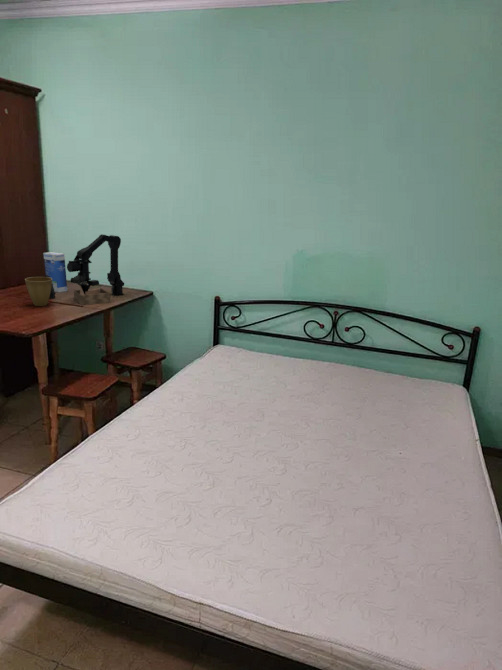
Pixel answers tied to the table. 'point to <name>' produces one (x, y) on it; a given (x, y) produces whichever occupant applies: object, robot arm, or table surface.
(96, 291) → the door
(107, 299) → the crate
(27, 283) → the plant pot
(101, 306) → the table surface
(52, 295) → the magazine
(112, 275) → the robot arm
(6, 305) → the table surface
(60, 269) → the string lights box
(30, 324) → the table surface
